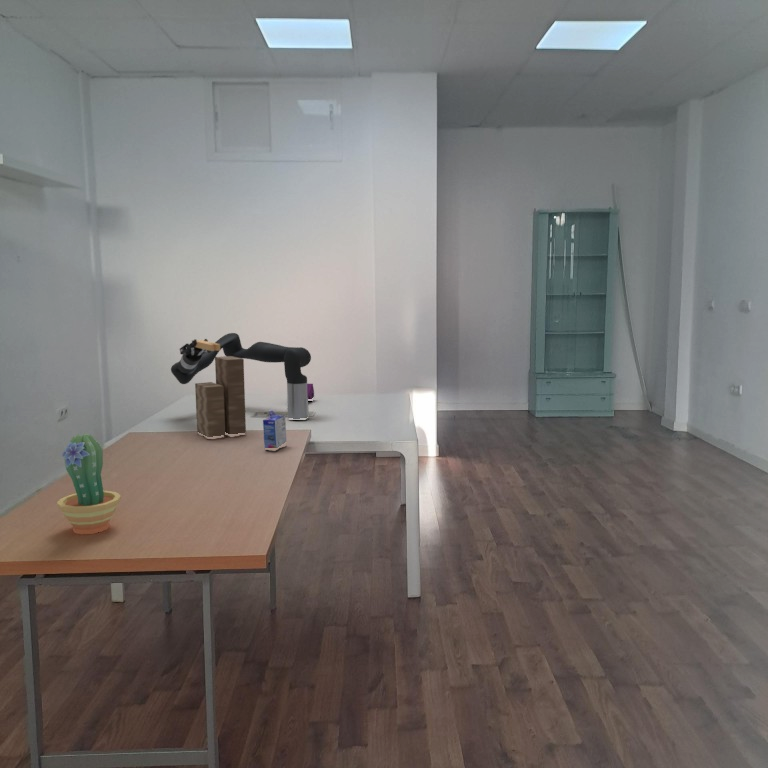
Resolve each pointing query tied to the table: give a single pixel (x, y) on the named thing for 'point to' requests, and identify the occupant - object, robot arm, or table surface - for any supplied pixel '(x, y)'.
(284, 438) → the ink cartridge box
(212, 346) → the slotted slat
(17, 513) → the table surface
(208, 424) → the step stand
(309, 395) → the mounting bracket
